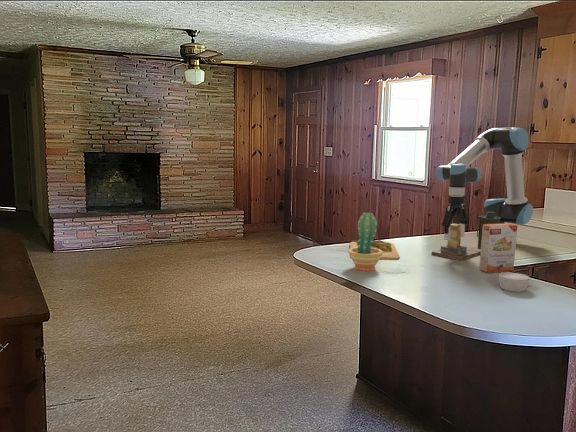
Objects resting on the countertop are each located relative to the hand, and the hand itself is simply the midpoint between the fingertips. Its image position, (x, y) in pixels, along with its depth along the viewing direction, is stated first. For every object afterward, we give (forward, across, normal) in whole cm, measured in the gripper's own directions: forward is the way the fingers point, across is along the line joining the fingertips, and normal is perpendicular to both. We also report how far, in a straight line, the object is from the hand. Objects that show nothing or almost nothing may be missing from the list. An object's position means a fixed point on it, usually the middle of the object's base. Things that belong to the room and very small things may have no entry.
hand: (454, 238), depth 265 cm
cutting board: (+9, +23, -32) cm, 40 cm away
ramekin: (+9, +34, +46) cm, 58 cm away
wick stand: (+9, -5, 0) cm, 10 cm away
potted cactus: (+9, +53, -13) cm, 55 cm away
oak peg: (+7, 0, 0) cm, 7 cm away
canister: (+9, -25, +5) cm, 27 cm away
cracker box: (+9, +13, +29) cm, 33 cm away
